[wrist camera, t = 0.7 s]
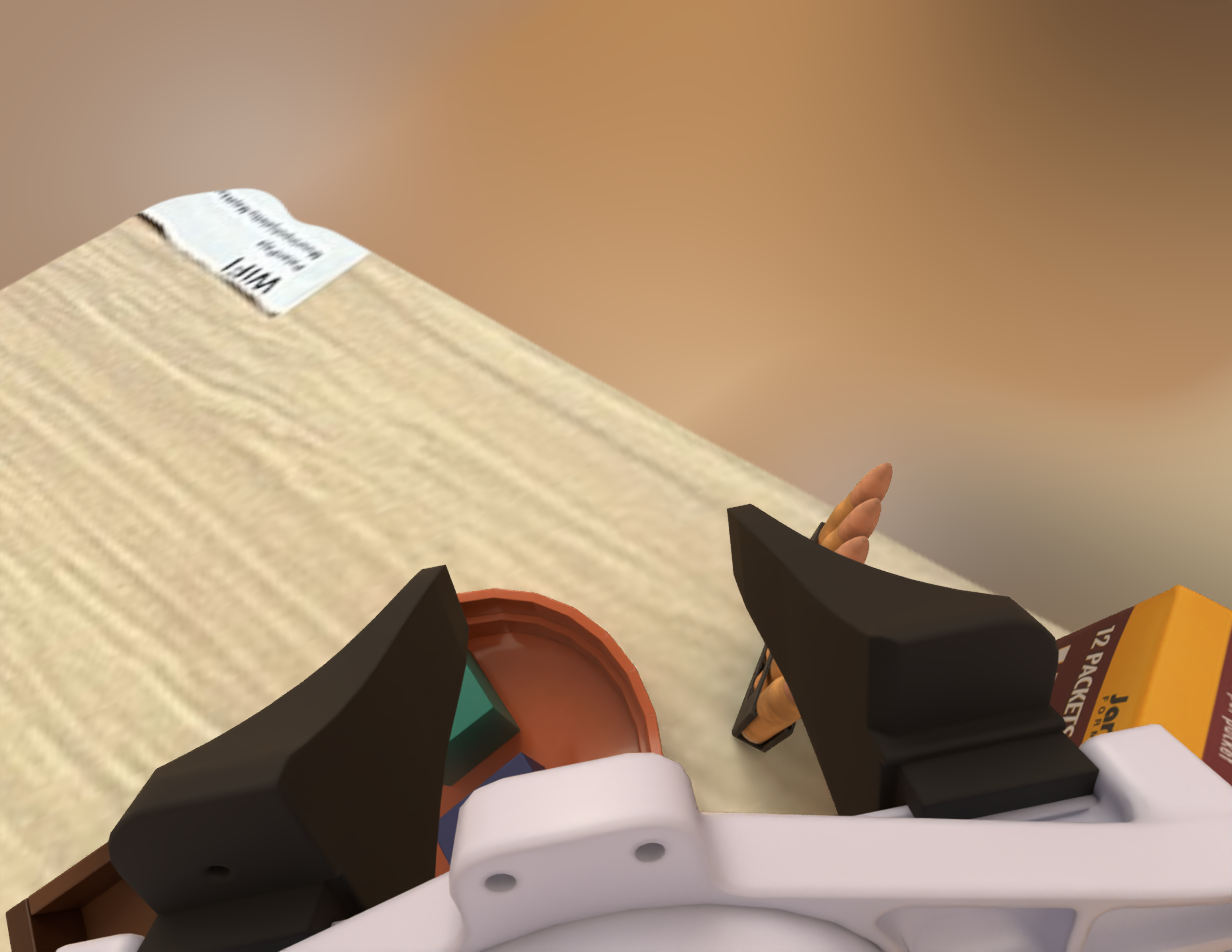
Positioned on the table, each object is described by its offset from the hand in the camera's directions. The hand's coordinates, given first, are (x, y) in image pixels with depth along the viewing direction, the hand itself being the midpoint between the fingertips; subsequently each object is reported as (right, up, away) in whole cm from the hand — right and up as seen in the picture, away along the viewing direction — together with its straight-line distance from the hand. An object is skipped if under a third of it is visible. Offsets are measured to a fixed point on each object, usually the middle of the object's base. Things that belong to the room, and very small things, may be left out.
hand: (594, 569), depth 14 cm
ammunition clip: (+10, -7, +16) cm, 20 cm away
